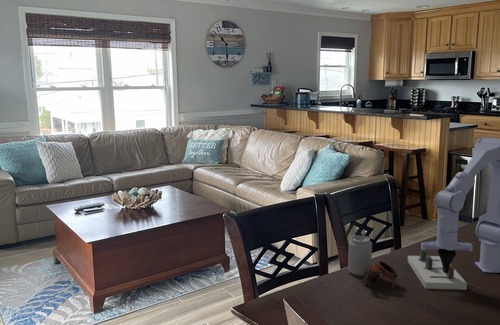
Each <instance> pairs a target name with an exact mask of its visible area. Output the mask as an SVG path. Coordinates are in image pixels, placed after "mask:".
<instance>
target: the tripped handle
mask: <svg viewBox="0 0 500 325" xmlns="http://www.w3.org/2000/svg"><path fill="white" fill-rule="evenodd" d="M454 269H455V267H454V266H453V265H452V264H451V263H450V266H449V268H448V273H446V275H447V276H448V278H454Z"/></svg>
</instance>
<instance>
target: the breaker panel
mask: <svg viewBox="0 0 500 325" xmlns="http://www.w3.org/2000/svg"><path fill="white" fill-rule="evenodd" d="M407 262H408V264H409V266H410V267H411V268H412V270H413V272H414V274H415V275H416V277H417V278H418V279H419V281H420V283H421V284H422V286H423V287H424V289H425V290H426V289H427V290H428V289H430V290H433V289H434V290H459V291H461V290H463V291H464V290H466V291H467V289H468V283H467V282H466V280H465V279H464V278H463V277H462V275H461V274H460V273H459V272H458V271H457V270H456V269H455V268H454V278H448V276H447V275H446V273H444V272H443V268H442V267H443V266H442V262H441V259H440V256H439V255H437V256H436V255H427V250H422V249H421V248H419V255H407Z"/></svg>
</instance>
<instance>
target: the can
mask: <svg viewBox="0 0 500 325" xmlns="http://www.w3.org/2000/svg"><path fill="white" fill-rule="evenodd" d="M347 253H348V257H347V258H348V261H347V262H348V263H347V264H348V268H347V270H348V272H349V273H350V274H351V275H353V276H356V277H364V275H365V272H366V270H367V268H368V267H369V266H370V265H372V262H373V261H372V260H373V258H372V257H373V256H372V254H373V242H372V241H371V238H370V237H368V236H366V235H353V236H351V237H350V240H349V241H348V252H347Z"/></svg>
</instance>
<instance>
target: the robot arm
mask: <svg viewBox="0 0 500 325" xmlns="http://www.w3.org/2000/svg"><path fill="white" fill-rule="evenodd" d="M487 163H489V164H490V165H491V166H492V168H491V169H492V170H491V178H490V185H489V192H488V201H487V207H486V208H487V209H486V213H483V215H481V216H479V217H478V220H477V221H478V222H477V224H476V227H475V234H476V237H477V238H478V241H479V242H480V253H479V254H480V255H479V261H475V262H474V264H475V265H476V266H477V267H478V268H479V269H480V270H481V271H482V272H483V273H500V138H497V137H486V136H481V137H480V138H478V140H477V141H476V143H475V144H474V153H473V155H472V156H471V158H470V160H469V161H468V163H467V165H466V166H465V168H464V169H463V171H459V172H457V173H456V174H455V175H454V177H453V178H452V179H451V181H450V182H449V184H448V185H447V186H446V188H445V189H442V190H440V191H438V192H437V193H436V195H435V197H434V199H433V204H434V206H435V208H436V210H435V212H436V214H437V224H436V226H437V227H436V240H433V241H423V242H422V241H421V243H420V249H422V250H426V251H427V250H429V251H430V250H432V251H433V250H434V251H435V250H436V252H437V254H438V256H440V259H441V262H442V266H443V267H442V268H443V272H444V273H448V268H449V266H450V264H451V263H452V261H453V260H454V258H456V256H457V252H456V251H468V252H473V247H474V246H473V244H472V243H471V242H460V241H458V234H459V233H458V232H459V230H458V229H459V217H460V216H459V215H460V211H461V210H462V209H463V208H464V205H465V201H466V199H467V195H468V193H469V192H470V190H472V188H473V186H474V185H475V184H476V183H475V177H476V176H477V175H478V174H479V173H480V172H481V171H482V170H483V168H484V167H485V166H486V165H487Z"/></svg>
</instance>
